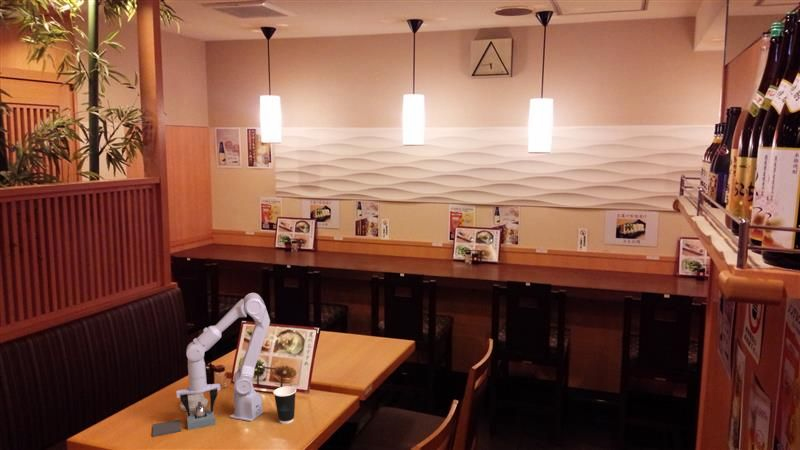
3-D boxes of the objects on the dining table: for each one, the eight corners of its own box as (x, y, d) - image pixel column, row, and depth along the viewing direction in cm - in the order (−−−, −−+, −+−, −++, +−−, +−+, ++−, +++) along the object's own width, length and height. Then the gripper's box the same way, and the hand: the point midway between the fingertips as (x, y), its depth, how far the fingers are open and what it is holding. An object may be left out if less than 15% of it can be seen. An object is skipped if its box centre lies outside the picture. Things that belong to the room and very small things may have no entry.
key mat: (180, 420, 211) (180, 419, 211) (181, 431, 202) (180, 429, 202) (153, 425, 207) (153, 424, 207) (152, 437, 199) (152, 435, 199)
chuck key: (205, 418, 212) (203, 400, 211) (206, 424, 207) (204, 406, 206) (196, 419, 211) (194, 401, 210) (197, 426, 206) (195, 407, 205)
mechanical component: (174, 411, 219) (199, 412, 217) (173, 399, 219) (198, 401, 217) (189, 399, 229) (213, 401, 227) (188, 389, 228) (212, 390, 226)
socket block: (213, 414, 215) (212, 407, 214) (215, 424, 206) (214, 418, 206) (187, 419, 211) (186, 412, 211) (188, 430, 203) (187, 423, 203)
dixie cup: (292, 413, 213) (290, 384, 212) (301, 421, 207) (300, 391, 205) (271, 420, 209) (269, 390, 207) (280, 428, 202) (278, 397, 201)
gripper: (217, 368, 213) (220, 404, 215) (175, 375, 208) (178, 412, 210) (219, 375, 207) (222, 412, 208) (175, 382, 201) (178, 420, 203)
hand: (200, 412), depth 209 cm, fingers open, 7 cm apart
